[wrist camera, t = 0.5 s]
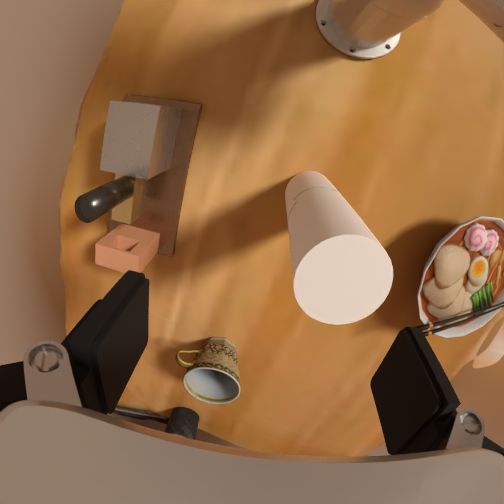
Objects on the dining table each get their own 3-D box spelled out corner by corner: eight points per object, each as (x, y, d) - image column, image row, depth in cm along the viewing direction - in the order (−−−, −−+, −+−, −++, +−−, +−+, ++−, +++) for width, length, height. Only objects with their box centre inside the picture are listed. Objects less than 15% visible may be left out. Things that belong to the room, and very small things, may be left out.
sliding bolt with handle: (137, 104, 33) (85, 102, 23) (157, 106, 34) (110, 104, 23) (121, 212, 40) (74, 246, 29) (139, 217, 40) (95, 252, 29)
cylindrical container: (276, 205, 44) (275, 303, 21) (298, 162, 41) (326, 215, 18) (319, 226, 44) (357, 336, 22) (342, 185, 41) (411, 261, 19)
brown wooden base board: (128, 94, 38) (95, 91, 29) (202, 104, 38) (182, 100, 30) (110, 236, 48) (82, 260, 39) (173, 254, 48) (153, 283, 40)
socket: (121, 223, 46) (95, 243, 38) (160, 233, 46) (138, 256, 38) (120, 241, 47) (95, 263, 39) (157, 252, 47) (137, 277, 40)
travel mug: (166, 406, 67) (144, 470, 48) (193, 406, 65) (175, 474, 47) (178, 422, 69) (160, 483, 51) (204, 422, 68) (190, 487, 50)
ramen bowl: (507, 195, 38) (534, 209, 31) (492, 300, 47) (511, 322, 40) (395, 211, 42) (416, 229, 35) (393, 327, 51) (406, 356, 44)
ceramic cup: (256, 350, 55) (252, 389, 46) (223, 373, 59) (215, 410, 50) (204, 310, 52) (190, 348, 43) (173, 337, 56) (158, 373, 47)
